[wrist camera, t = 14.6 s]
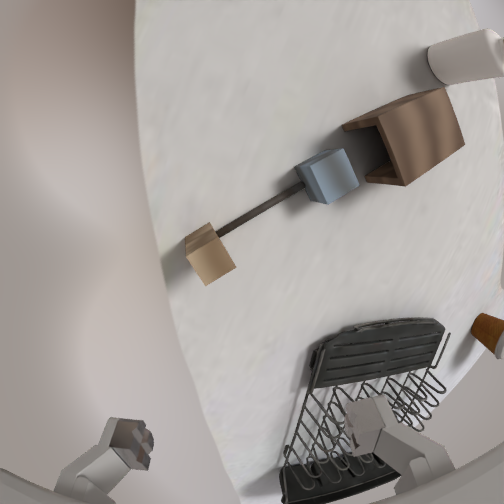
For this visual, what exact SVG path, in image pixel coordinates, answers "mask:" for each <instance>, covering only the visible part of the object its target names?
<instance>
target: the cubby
mask: <svg viewBox="0 0 504 504" xmlns="http://www.w3.org/2000/svg"><path fill="white" fill-rule="evenodd" d="M375 125H376V126H377V128H378V130H379V132H380V135H381V137H382V139H383V142H384V144H385V147H386V149H387V151H388V154H389V157H390V159H391V161H389V162H387V163H386V164H384V165H382V166H381V167H379V168H377V169H376V170H374V171H372V172H371V173H369V174H367V175H366V176H365V179H366V181H367V182H368V183H379V184H389V185H398V186H407V185H408V184H410V183H411V182H413V181H414V180H416V179H417V178H419V177H420V176H421V175H423V174H424V173H426V172H427V171H429V170H430V169H432V168H433V167H434V166H436V165H437V164H439V163H440V162H442V161H443V160H444V159H446V158H447V157H449V156H450V155H451V154H453V153H454V152H456V151H457V150H458V149H460V148H461V147H463V146H464V145H465V143H464V139H463V136H462V133H461V130H460V127H459V124H458V121H457V118H456V115H455V112H454V110H453V107H452V104H451V102H450V99H449V97H448V94H447V92H446V89H445V87H442V88H437V89H433V90H428V91H424V92H419V93H415V94H411V95H407V96H405V97H402V98H400V99H398V100H395V101H393V102H391V103H388V104H386V105H384V106H381V107H379V108H377V109H375V110H372V111H370V112H368V113H366V114H364V115H362V116H359V117H357V118H355V119H353V120H351V121H349V122H347V123H345V124H342V127H343V129H344V131H349V130H354V129H359V128H364V127H369V126H375Z"/></svg>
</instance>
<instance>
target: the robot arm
mask: <svg viewBox="0 0 504 504" xmlns="http://www.w3.org/2000/svg"><path fill="white" fill-rule="evenodd" d="M346 411H347V414H346V415H345V418H344V423H345V430H346V434H347V436H348V437H350V438H351V440H350V447H351V450H352V454H353V457H355V456H359V455H364V454H368V453H372V452H374V454H376V455H377V456H378V457H379V458H381V459H382V460H383V461H384V462H386V463H387V464H388V465H389V466H391V467H392V468H393V469H395V470H396V471H397V472H398V473H400V474H401V475H402V476H401V478H400V479H399V481H398V482H397V484H396V485H395V487H394V489H395V492H396V495H395V496H392V497H389V498H386V499H383V500H380V501H376V502H373V503H370V504H504V442H502V443H500V444H499V445H497V446H496V447H494V448H493V449H491V450H489V451H488V452H486V453H485V454H483V455H482V456H480V457H478V458H476V459H474V460H473V461H471V462H469V463H467V464H465V465H464V466H461V467H460V468H458V469H455V468H454V465H453V463H452V461H451V459H450V457H449V455H448V453H447V451H446V449H445V447H444V446H443V445H441V444H439V443H437V442H435V441H433V440H431V439H430V438H428V437H426V436H424V435H422V434H421V433H419V432H417V431H415V430H414V429H412V428H410V427H408V426H407V425H405V424H403V423H399V424H398V422H397V420H396V418H395V415H394V413H393V411H392V409H391V407H390V405H389V403H388V401H387V399H386V397H385V395H383V394H382V395H378V396H375V397H370V398H366V399H362V400H358V401H354V402H350V403H347V405H346ZM145 427H146V424H145V423H144V421H143V420H132V419H122V418H113V417H111V418H109V419H108V421H107V423H106V426H105V428H104V431H103V434H102V436H101V439H100V441H99V444H98V445H95V446H93V447H92V448H91V449H89V450H88V451H87V452H85V453H84V454H83V455H81V456H80V457H79V458H77V459H76V460H75V461H74V462H72V463H71V464H70V465H68V466H67V467H65V468H64V469H63V470H62V471H61V473H60V476H59V478H58V481H57V484H56V486H55V489H54V491H51V490H49V489H46V488H43V487H41V486H39V485H36V484H34V483H32V482H30V481H27V480H25V479H23V478H21V477H19V476H17V475H15V474H13V473H11V472H9V471H7V470H5V469H1V468H0V504H116V503H115V501H114V500H113V499H111V498H110V497H109V496H107V494H108V493H109V492H110V491H111V490H112V489H113V488H114V487H115V486H116V485H117V484H118V483H119V482H120V481H121V480H122V479H123V478H124V476H125V475H126V474H127V473H128V472H129V471H130V470H131V469H136V470H148V468H149V464H150V459H151V458H150V457H149V455H148V454H149V453H150V452H151V451H152V450H153V446H154V439H153V436H152V433H151V432H150V431H149V430H148V429H146V428H145Z"/></svg>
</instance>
